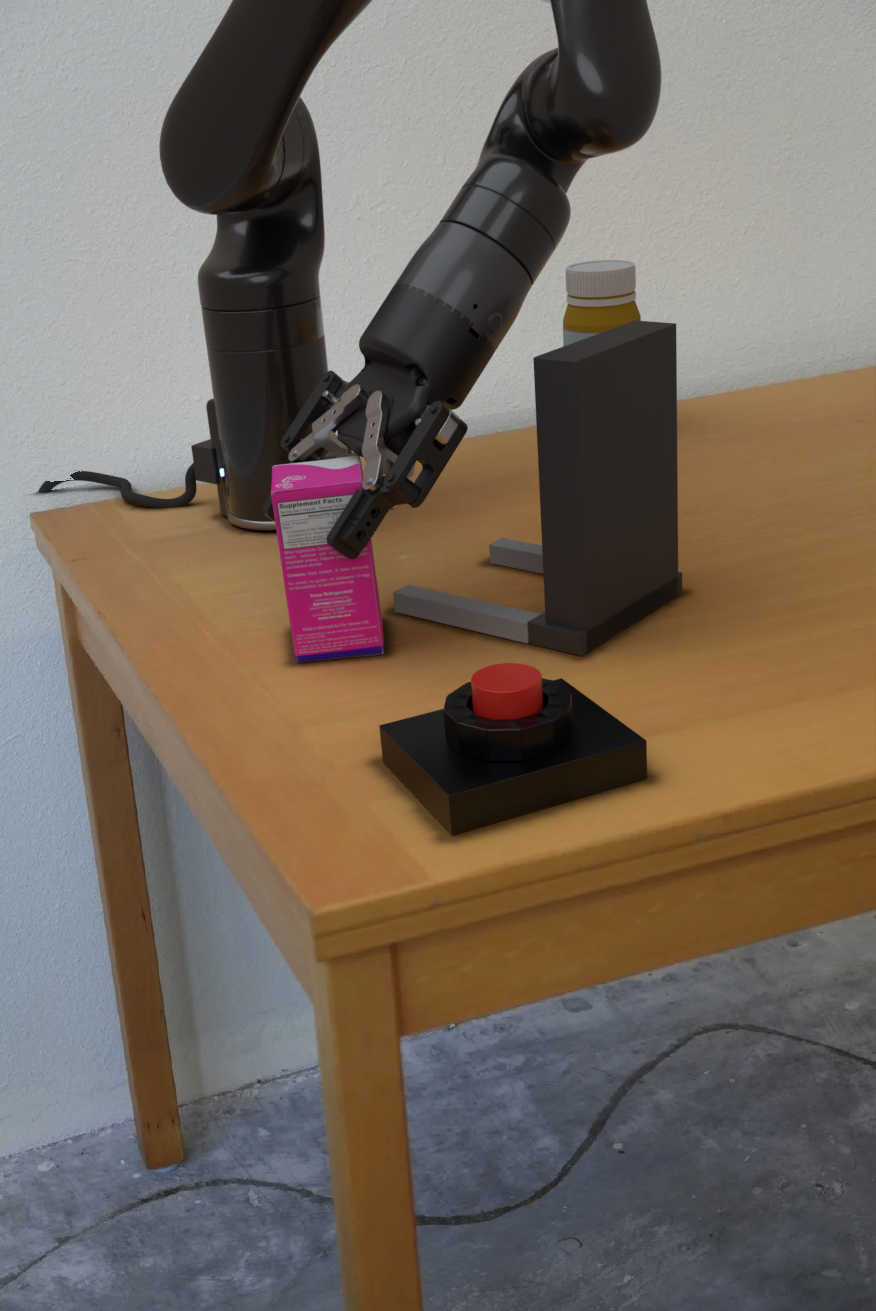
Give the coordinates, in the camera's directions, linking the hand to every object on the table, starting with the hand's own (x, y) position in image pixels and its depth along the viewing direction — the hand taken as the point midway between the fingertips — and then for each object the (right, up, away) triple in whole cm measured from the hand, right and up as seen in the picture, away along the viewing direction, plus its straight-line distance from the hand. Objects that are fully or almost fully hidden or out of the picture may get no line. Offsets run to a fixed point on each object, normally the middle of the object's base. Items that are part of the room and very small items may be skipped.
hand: (306, 536), depth 91 cm
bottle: (+24, +13, +46) cm, 53 cm away
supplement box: (+2, -7, +4) cm, 8 cm away
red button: (+12, -10, -15) cm, 22 cm away
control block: (+12, -13, -14) cm, 23 cm away
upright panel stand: (+15, -4, +7) cm, 17 cm away
